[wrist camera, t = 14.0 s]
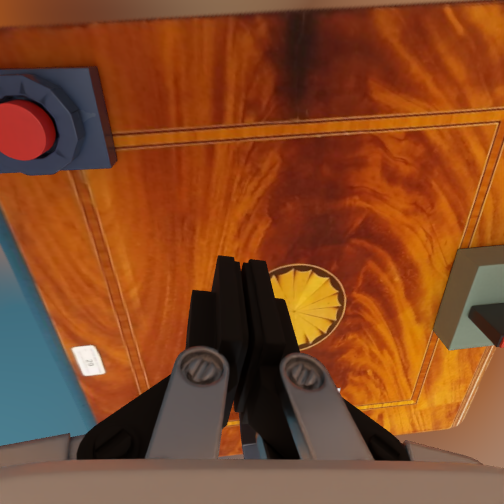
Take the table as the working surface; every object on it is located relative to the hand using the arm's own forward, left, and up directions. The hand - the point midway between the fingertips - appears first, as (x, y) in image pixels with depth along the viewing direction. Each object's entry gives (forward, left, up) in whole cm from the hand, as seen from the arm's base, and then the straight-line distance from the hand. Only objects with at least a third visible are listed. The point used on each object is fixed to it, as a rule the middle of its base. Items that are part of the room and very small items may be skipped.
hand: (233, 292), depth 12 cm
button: (-10, -9, -17) cm, 21 cm away
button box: (-10, -9, -20) cm, 24 cm away
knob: (+31, +14, -17) cm, 38 cm away
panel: (+31, +14, -20) cm, 39 cm away
